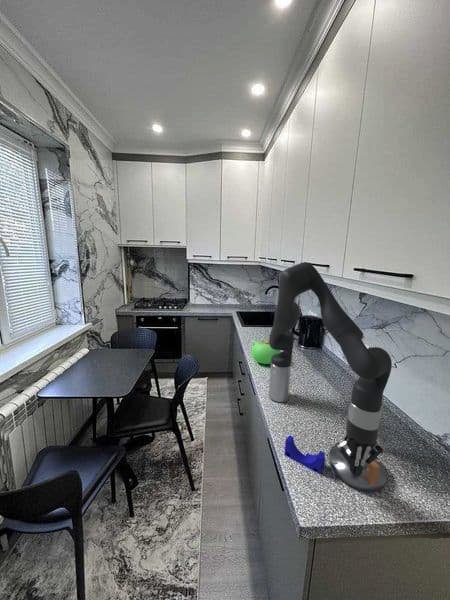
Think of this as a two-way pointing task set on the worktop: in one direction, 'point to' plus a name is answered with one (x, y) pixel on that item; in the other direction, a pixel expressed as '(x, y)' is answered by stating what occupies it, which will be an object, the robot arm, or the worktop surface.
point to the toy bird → (263, 352)
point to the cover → (349, 455)
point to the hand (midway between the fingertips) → (355, 474)
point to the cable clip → (304, 456)
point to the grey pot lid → (368, 479)
